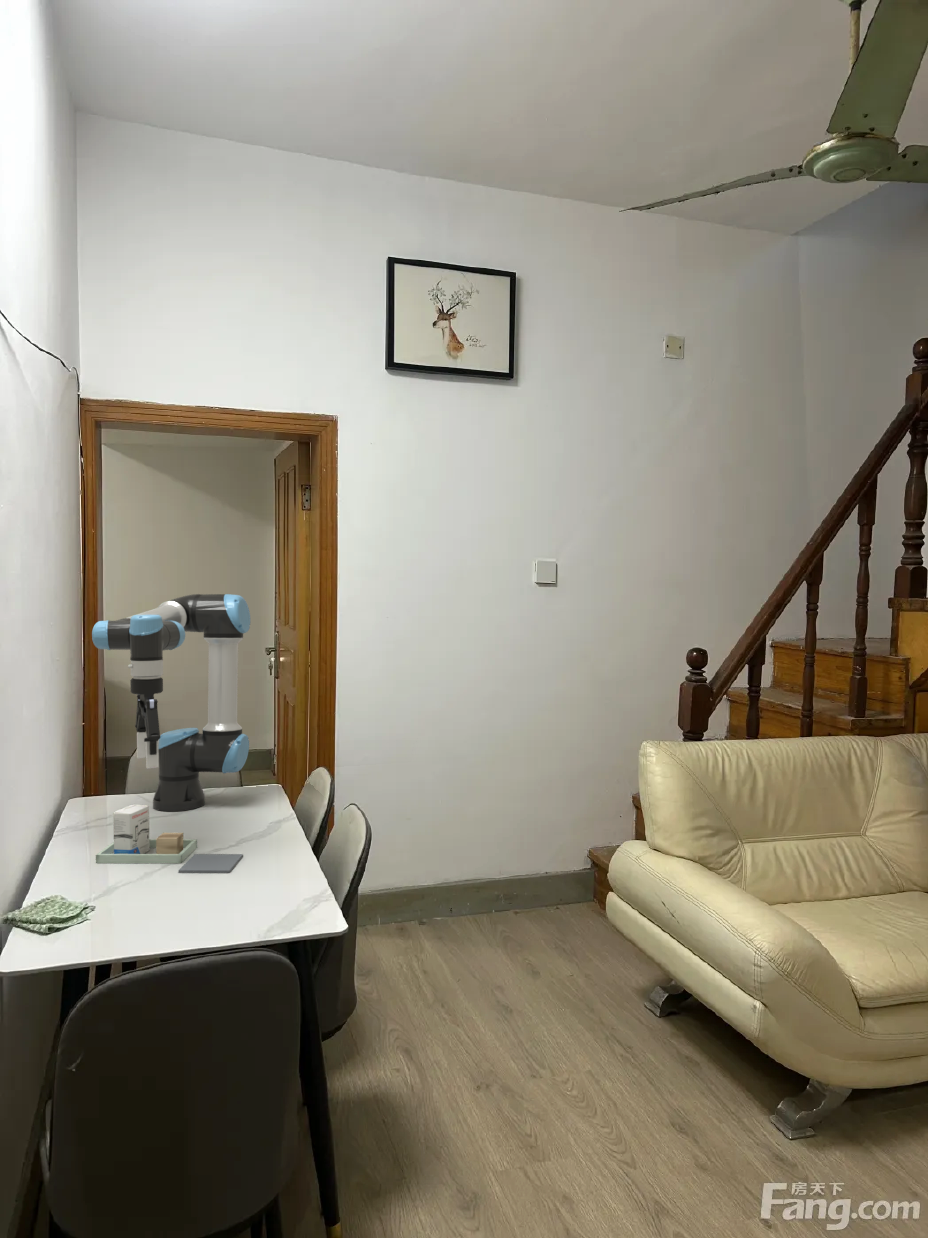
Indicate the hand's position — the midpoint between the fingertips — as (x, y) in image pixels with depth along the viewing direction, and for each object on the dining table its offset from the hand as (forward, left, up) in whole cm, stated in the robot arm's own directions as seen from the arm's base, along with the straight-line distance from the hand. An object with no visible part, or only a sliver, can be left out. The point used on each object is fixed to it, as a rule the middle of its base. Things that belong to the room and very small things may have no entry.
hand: (147, 762), depth 207 cm
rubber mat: (+6, +17, -24) cm, 30 cm away
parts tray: (-1, -1, -24) cm, 24 cm away
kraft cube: (-1, +5, -24) cm, 24 cm away
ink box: (-1, -5, -24) cm, 24 cm away
